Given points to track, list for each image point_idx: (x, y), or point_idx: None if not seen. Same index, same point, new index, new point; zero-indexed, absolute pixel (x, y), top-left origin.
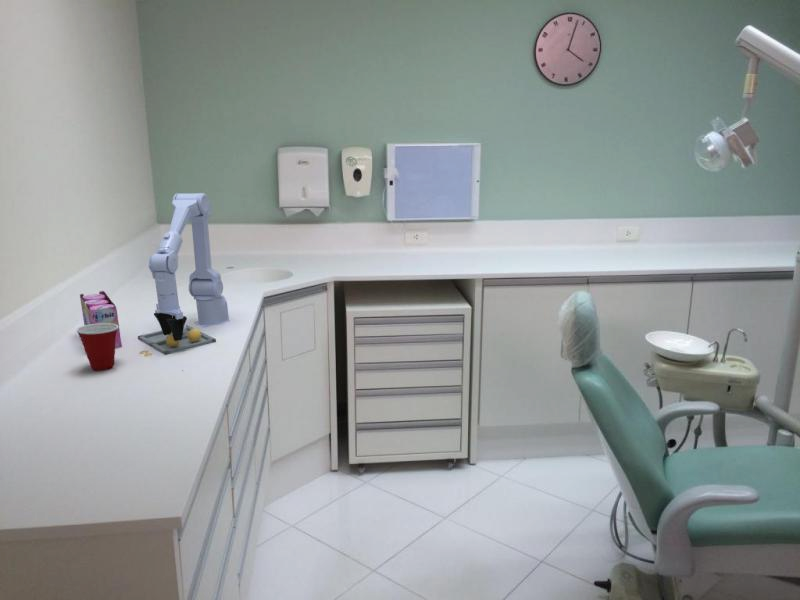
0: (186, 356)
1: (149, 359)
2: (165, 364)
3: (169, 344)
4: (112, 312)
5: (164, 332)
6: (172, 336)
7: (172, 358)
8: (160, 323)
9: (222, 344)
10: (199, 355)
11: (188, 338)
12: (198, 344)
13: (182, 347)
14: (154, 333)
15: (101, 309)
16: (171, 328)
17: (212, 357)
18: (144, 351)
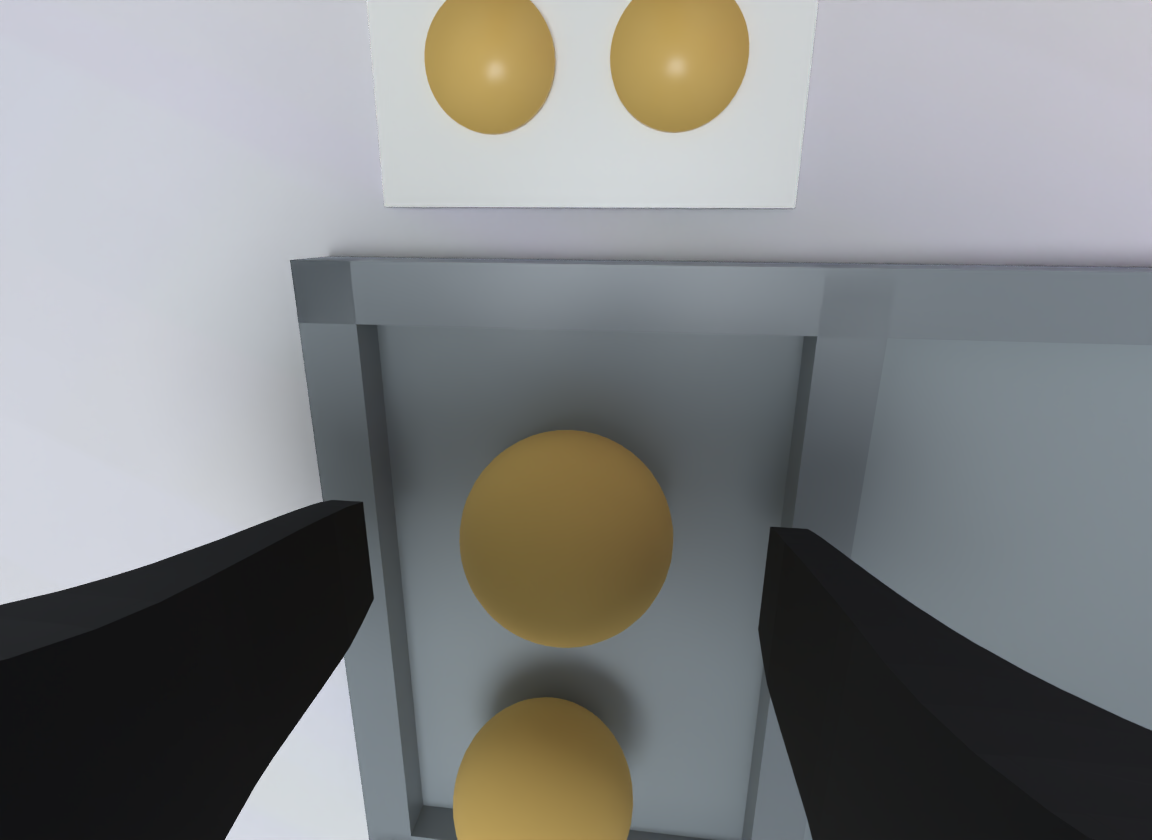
0: (184, 441)
1: (361, 24)
2: (36, 123)
3: (519, 441)
4: None
5: (779, 556)
6: (483, 552)
7: (210, 293)
8: (873, 647)
9: (327, 828)
10: (138, 547)
11: (545, 708)
12: (355, 686)
13: None
14: None
15: None
16: (105, 596)
17: (11, 597)
18: (698, 75)
